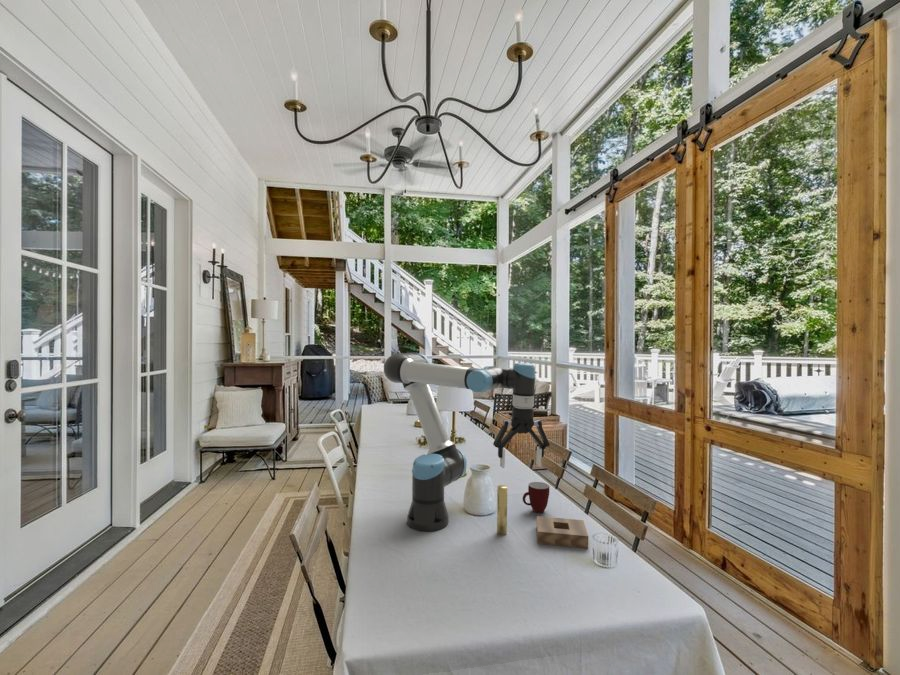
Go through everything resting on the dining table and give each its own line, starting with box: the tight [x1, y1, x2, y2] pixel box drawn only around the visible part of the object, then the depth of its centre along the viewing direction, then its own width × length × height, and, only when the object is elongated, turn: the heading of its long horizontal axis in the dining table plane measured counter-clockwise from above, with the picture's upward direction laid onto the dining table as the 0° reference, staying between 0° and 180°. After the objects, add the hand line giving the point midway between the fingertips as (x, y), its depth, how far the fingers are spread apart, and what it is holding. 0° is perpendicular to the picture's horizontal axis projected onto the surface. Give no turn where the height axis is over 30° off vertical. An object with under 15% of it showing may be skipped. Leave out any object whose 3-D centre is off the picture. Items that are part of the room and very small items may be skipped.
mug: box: [522, 481, 550, 514], centre depth 164 cm, size 10×8×10 cm
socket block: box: [536, 515, 589, 549], centre depth 143 cm, size 16×12×4 cm
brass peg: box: [496, 484, 508, 536], centre depth 145 cm, size 3×3×16 cm
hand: (520, 466), depth 149 cm, fingers open, 13 cm apart
